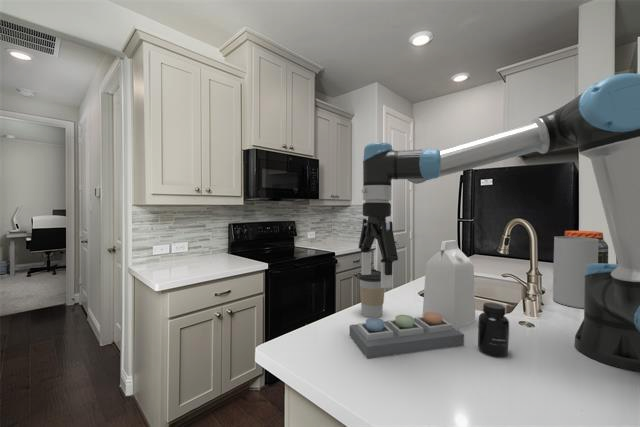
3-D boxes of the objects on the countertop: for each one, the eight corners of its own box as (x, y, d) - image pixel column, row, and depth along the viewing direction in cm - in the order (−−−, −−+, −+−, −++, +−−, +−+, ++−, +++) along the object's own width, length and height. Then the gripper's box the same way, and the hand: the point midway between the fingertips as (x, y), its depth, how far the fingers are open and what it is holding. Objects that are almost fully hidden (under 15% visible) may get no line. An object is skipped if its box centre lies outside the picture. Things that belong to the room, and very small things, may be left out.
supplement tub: (601, 288, 129) (603, 231, 128) (613, 298, 116) (614, 234, 115) (556, 283, 137) (557, 229, 137) (562, 291, 124) (563, 232, 123)
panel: (463, 345, 78) (464, 328, 78) (367, 358, 71) (367, 340, 71) (433, 325, 90) (434, 311, 90) (349, 335, 84) (349, 320, 84)
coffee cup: (385, 320, 95) (385, 275, 94) (357, 318, 96) (357, 273, 96) (384, 310, 103) (385, 268, 103) (359, 308, 105) (359, 267, 105)
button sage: (417, 326, 79) (417, 320, 79) (401, 328, 78) (401, 322, 78) (407, 319, 84) (407, 314, 84) (392, 321, 82) (392, 315, 82)
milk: (443, 309, 104) (444, 238, 103) (475, 320, 94) (476, 241, 93) (422, 317, 97) (422, 240, 96) (454, 329, 88) (455, 244, 87)
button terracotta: (446, 323, 81) (446, 317, 81) (430, 325, 80) (430, 319, 80) (435, 316, 86) (435, 311, 86) (420, 318, 85) (420, 312, 84)
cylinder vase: (549, 303, 110) (551, 238, 109) (555, 296, 119) (557, 235, 118) (594, 312, 101) (596, 241, 100) (598, 303, 109) (599, 238, 109)
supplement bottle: (498, 360, 70) (499, 312, 70) (472, 348, 76) (472, 303, 76) (514, 354, 73) (515, 307, 73) (488, 342, 79) (488, 299, 79)
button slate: (387, 330, 77) (387, 324, 77) (370, 332, 75) (370, 326, 75) (379, 322, 81) (379, 317, 81) (362, 324, 80) (362, 318, 80)
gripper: (348, 201, 89) (347, 270, 90) (384, 201, 65) (382, 295, 66) (371, 202, 91) (370, 269, 91) (414, 201, 67) (412, 293, 67)
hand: (375, 280), depth 78 cm, fingers open, 12 cm apart
